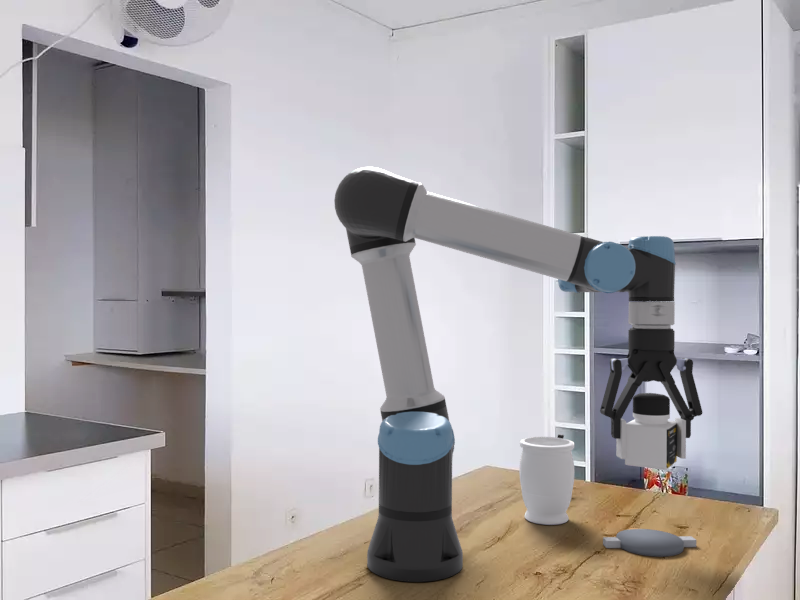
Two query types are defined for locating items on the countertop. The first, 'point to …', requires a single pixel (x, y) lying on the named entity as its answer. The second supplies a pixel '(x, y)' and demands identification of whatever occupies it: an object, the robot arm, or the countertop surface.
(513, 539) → the countertop surface
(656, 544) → the pad
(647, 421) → the medicine bottle
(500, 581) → the countertop surface
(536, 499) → the jar
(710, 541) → the countertop surface
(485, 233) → the robot arm
